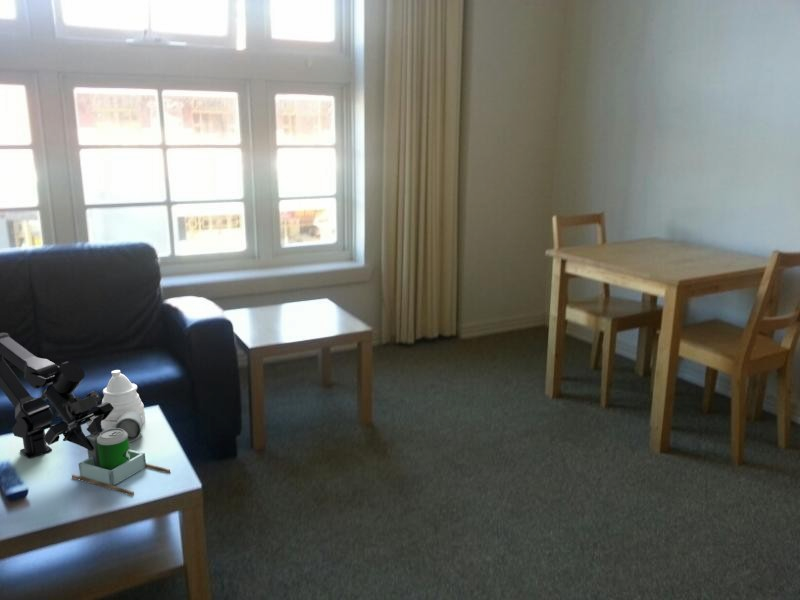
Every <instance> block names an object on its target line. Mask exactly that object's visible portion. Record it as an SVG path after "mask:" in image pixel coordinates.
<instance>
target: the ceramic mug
mask: <svg viewBox="0 0 800 600" xmlns="http://www.w3.org/2000/svg"><path fill="white" fill-rule="evenodd" d="M143 425H144V423H143V421H142V418H141V416H140V415H139V414H138V413H136V412H134V411H128V412H125V413H123V414H122V415H121V416H120V417H119V418H118V420H117V422H116V424H115V427H114V428H120V429H123V430H124V431H125V432H127V434H128V442H129V443H133V442H134V441H137V440H138V439H139V437H140V436H141V435H142V429H143Z"/></svg>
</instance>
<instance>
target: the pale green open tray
mask: <svg viewBox="0 0 800 600" xmlns="http://www.w3.org/2000/svg"><path fill="white" fill-rule="evenodd" d="M100 434H101V432H97V431H96V432H94V433H92V434H88V435H85V436H86V437H87V439H88V440H89V441H90V443H91V444H92V446H93V447H94V449H93V450H92V451H90V450H88V449H87V455H88V456H87V457H88V458H87V459H84V460H82V461H80V462H79V463H78V471H79V472H78V473H79V476H81V477H84V478H88V479H91V480H95V481H98V482H102V483H105V484H109V485H112V486H116V485H117V484H119V483H120V482H122V481H124V480H126V479H127V478H130V477H132V476H133V475H134V474H136V473H139V471H141V470H143V469H145V468H147V467H146V463H147V462H146V453H145V452H141V451H137V450H134V449H133V450H132V449H130V448H129V450H130V460H129V461H127V462H125V463H123V464H121V465H120V466H118V467H116V468H114V469H112V470H108V469H104V468H100V460H99V452H98V444H97V438H98V436H99V435H100Z"/></svg>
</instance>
